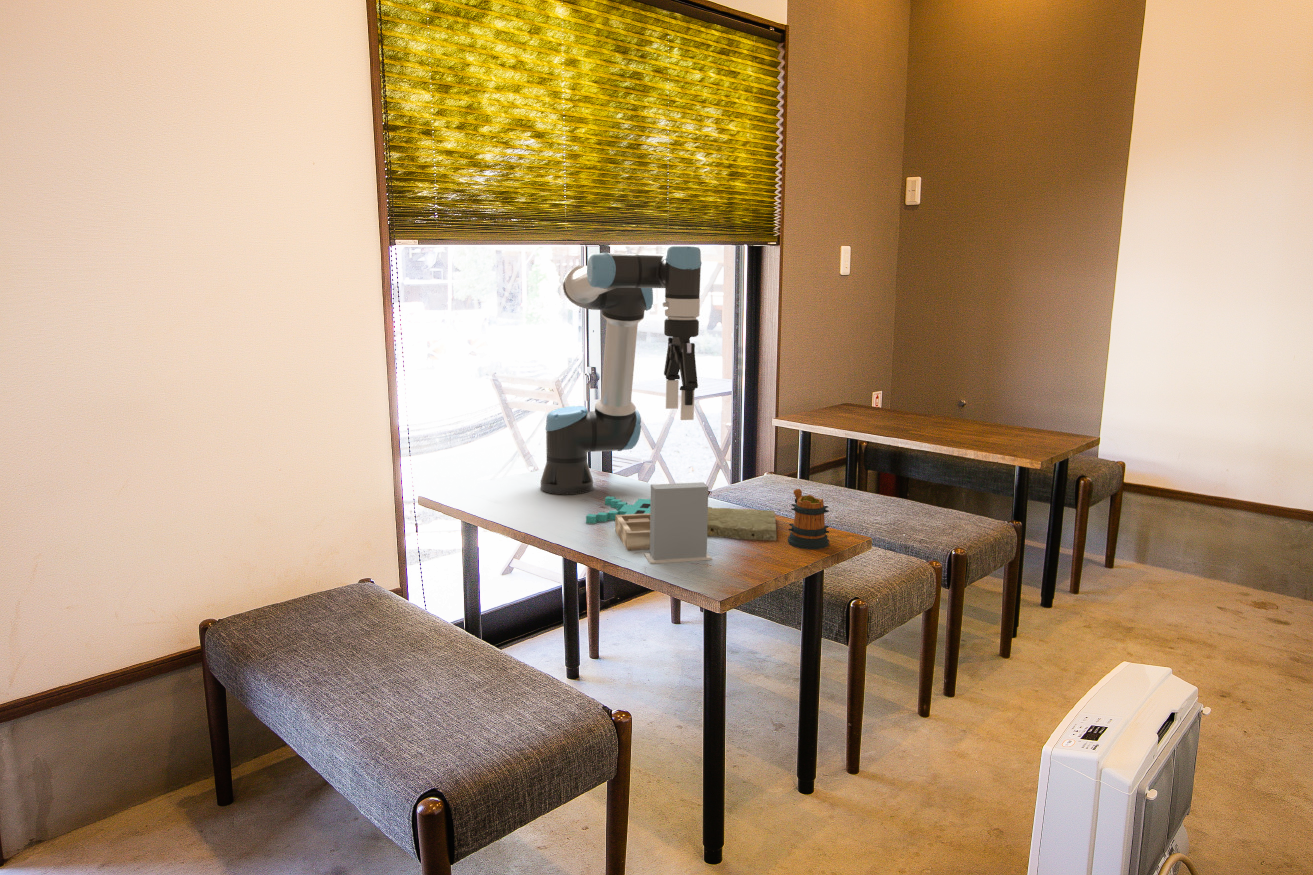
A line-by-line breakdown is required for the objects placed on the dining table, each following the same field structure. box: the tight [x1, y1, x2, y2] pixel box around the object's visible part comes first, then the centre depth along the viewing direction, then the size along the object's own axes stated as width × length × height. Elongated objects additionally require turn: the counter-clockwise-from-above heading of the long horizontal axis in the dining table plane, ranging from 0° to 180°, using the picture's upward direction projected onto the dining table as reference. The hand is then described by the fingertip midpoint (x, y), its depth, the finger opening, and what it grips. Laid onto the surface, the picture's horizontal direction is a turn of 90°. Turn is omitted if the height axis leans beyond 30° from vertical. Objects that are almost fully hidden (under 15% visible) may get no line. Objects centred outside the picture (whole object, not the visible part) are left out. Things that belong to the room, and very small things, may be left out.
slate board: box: [649, 481, 709, 560], centre depth 193 cm, size 4×12×16 cm, turn 103°
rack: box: [614, 513, 650, 551], centre depth 208 cm, size 15×18×4 cm
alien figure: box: [585, 495, 651, 524], centre depth 227 cm, size 20×2×20 cm
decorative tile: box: [707, 506, 778, 541], centre depth 218 cm, size 19×20×4 cm
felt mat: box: [643, 552, 713, 565], centre depth 195 cm, size 6×14×1 cm, turn 103°
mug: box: [787, 488, 830, 551], centre depth 207 cm, size 13×10×12 cm
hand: (679, 414), depth 196 cm, fingers open, 13 cm apart
